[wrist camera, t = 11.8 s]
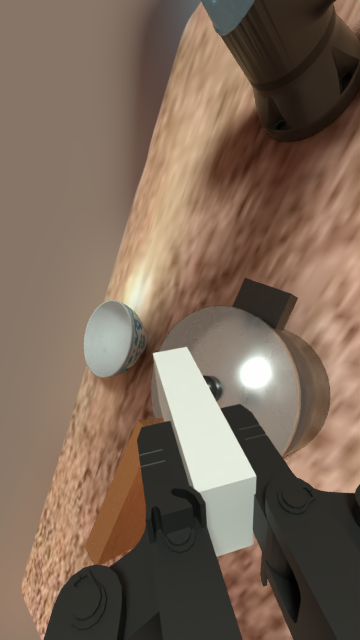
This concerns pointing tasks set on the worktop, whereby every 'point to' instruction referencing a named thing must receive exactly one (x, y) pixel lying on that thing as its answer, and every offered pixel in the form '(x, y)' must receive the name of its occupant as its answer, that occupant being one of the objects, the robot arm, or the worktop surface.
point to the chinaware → (113, 339)
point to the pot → (310, 369)
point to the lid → (228, 389)
